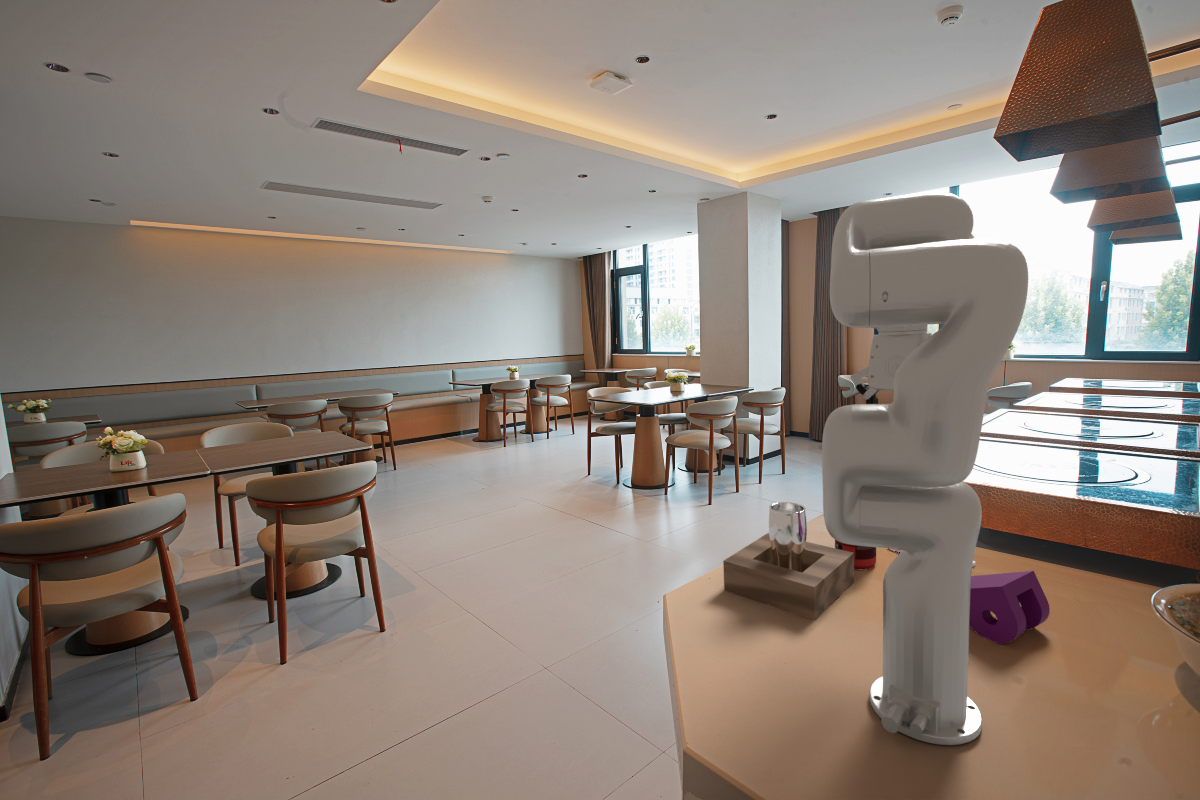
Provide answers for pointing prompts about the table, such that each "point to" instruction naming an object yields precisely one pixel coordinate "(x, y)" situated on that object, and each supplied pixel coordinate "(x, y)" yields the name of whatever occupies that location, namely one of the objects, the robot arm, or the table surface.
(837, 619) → the table surface
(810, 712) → the table surface
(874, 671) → the table surface
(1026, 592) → the mounting bracket
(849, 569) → the walnut well
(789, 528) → the silver metal cup
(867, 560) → the canned food
